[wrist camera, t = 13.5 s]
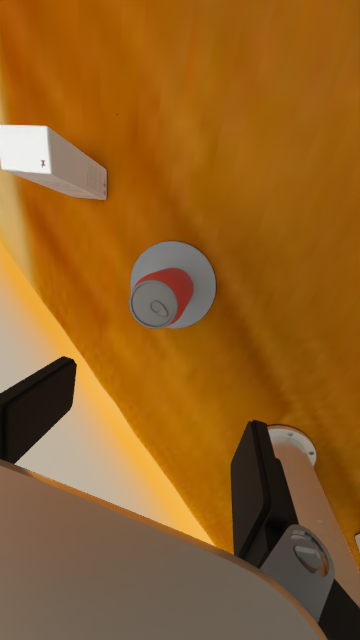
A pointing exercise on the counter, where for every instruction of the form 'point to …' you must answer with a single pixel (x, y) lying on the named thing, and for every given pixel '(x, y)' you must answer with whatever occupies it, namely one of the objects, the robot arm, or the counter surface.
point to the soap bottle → (358, 540)
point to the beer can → (161, 297)
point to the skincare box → (51, 161)
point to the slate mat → (187, 261)
